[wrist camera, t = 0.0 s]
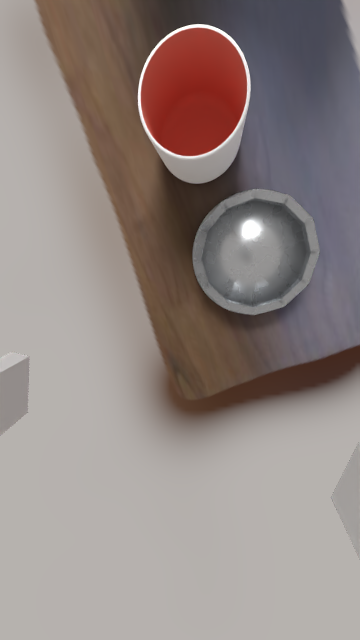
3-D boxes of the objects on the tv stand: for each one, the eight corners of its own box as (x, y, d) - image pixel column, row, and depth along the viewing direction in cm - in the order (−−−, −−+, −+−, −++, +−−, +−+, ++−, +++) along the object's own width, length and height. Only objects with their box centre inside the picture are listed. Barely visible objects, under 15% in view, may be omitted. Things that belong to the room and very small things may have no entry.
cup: (212, 73, 30) (210, -10, 20) (255, 151, 31) (272, 108, 22) (145, 133, 32) (115, 83, 23) (188, 202, 34) (177, 183, 24)
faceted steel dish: (207, 180, 33) (207, 174, 30) (333, 204, 31) (343, 200, 29) (182, 298, 37) (180, 302, 35) (291, 323, 36) (296, 329, 34)
